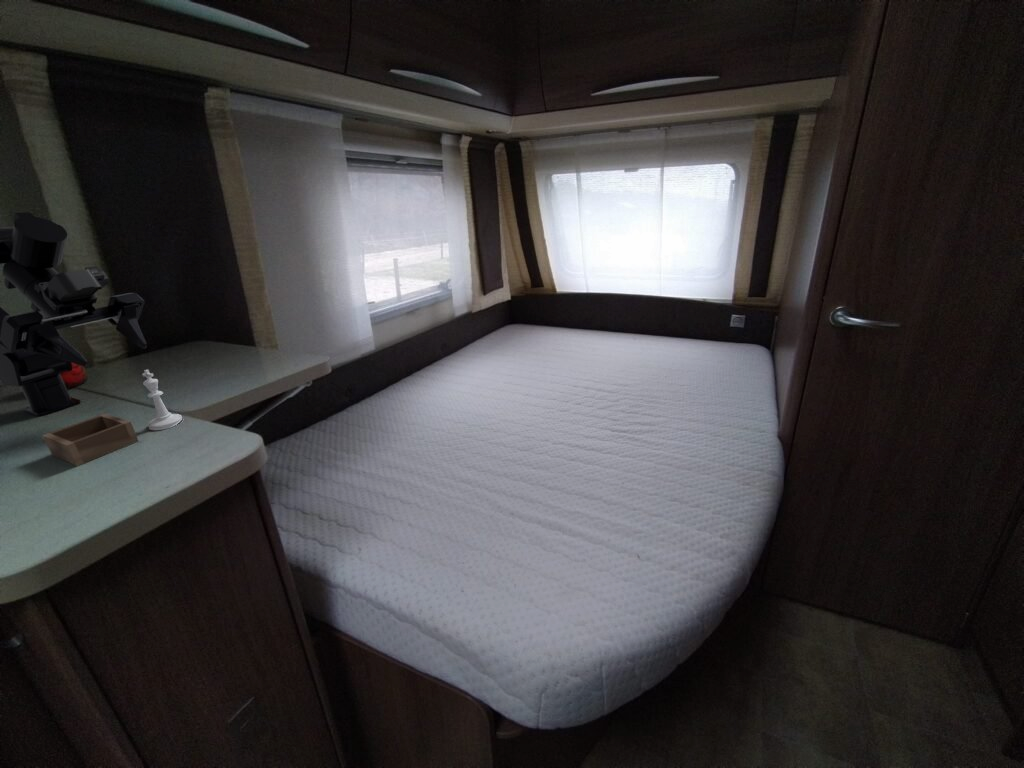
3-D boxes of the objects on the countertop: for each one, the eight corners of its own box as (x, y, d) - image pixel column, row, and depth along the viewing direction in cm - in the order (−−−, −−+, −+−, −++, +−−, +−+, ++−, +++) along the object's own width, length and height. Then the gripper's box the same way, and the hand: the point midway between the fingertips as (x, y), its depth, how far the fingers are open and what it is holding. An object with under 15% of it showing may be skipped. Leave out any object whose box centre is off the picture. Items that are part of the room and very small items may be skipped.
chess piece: (165, 431, 75) (144, 376, 71) (141, 429, 76) (119, 375, 72) (190, 418, 80) (171, 365, 76) (167, 416, 81) (147, 364, 77)
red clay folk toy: (46, 386, 98) (14, 319, 92) (88, 377, 103) (60, 312, 97) (48, 395, 93) (14, 325, 87) (92, 385, 98) (62, 317, 92)
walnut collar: (52, 455, 69) (42, 435, 68) (112, 432, 76) (104, 413, 74) (77, 466, 66) (67, 445, 64) (138, 441, 72) (130, 421, 71)
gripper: (-28, 260, 62) (58, 340, 63) (117, 246, 78) (184, 309, 79) (-32, 314, 67) (47, 387, 68) (104, 290, 84) (167, 349, 85)
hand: (117, 355), depth 75 cm, fingers open, 9 cm apart
